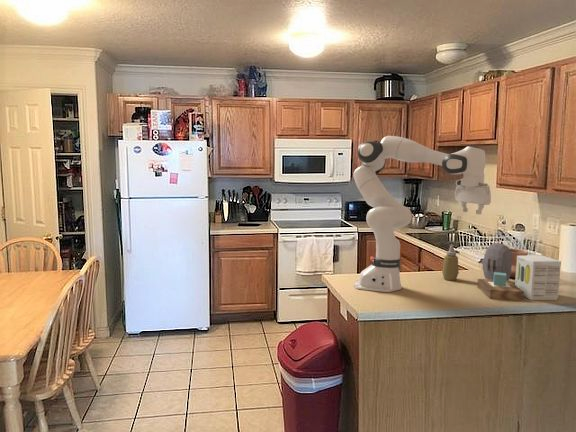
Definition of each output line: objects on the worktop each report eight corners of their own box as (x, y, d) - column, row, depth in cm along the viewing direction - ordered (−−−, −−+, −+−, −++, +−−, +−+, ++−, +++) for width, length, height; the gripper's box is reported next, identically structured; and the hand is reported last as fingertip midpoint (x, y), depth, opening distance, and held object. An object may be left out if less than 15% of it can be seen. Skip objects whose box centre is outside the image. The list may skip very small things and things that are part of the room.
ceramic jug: (536, 278, 248) (538, 251, 246) (521, 281, 240) (523, 254, 238) (503, 271, 263) (505, 246, 261) (488, 274, 254) (490, 248, 253)
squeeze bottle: (442, 280, 239) (444, 245, 237) (441, 276, 247) (442, 243, 245) (459, 281, 237) (461, 246, 235) (457, 278, 245) (459, 243, 243)
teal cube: (493, 285, 216) (494, 274, 215) (493, 282, 220) (494, 272, 220) (505, 286, 214) (506, 275, 213) (505, 283, 219) (505, 273, 218)
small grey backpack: (513, 284, 234) (516, 244, 232) (502, 286, 230) (505, 245, 228) (488, 277, 247) (491, 240, 245) (477, 279, 244) (479, 241, 241)
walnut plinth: (489, 298, 209) (490, 289, 208) (477, 286, 228) (477, 278, 228) (523, 300, 207) (523, 291, 207) (507, 288, 227) (508, 279, 226)
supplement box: (513, 292, 220) (516, 255, 218) (540, 291, 222) (542, 255, 220) (530, 300, 207) (533, 261, 205) (558, 300, 209) (562, 261, 207)
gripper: (495, 183, 202) (493, 215, 204) (464, 181, 222) (463, 210, 223) (483, 183, 201) (481, 215, 202) (453, 181, 220) (451, 210, 222)
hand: (471, 213), depth 213 cm, fingers open, 8 cm apart
